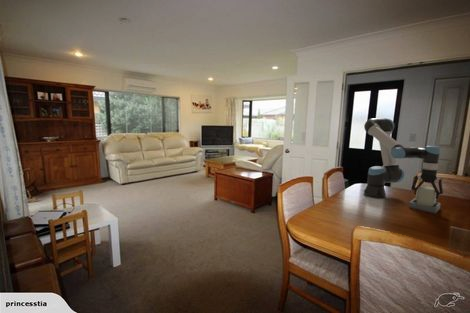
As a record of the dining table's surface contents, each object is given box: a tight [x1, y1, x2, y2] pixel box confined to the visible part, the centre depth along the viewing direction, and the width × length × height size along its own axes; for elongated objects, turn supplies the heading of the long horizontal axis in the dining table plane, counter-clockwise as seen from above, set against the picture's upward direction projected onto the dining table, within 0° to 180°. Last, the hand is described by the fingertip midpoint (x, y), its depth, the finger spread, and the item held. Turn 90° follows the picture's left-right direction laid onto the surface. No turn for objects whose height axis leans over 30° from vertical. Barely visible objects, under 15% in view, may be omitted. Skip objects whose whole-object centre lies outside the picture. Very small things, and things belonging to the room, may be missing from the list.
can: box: [416, 185, 436, 206], centre depth 151 cm, size 9×9×12 cm
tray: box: [408, 197, 441, 215], centre depth 152 cm, size 14×14×4 cm
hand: (425, 201), depth 152 cm, fingers closed on can, 9 cm apart
